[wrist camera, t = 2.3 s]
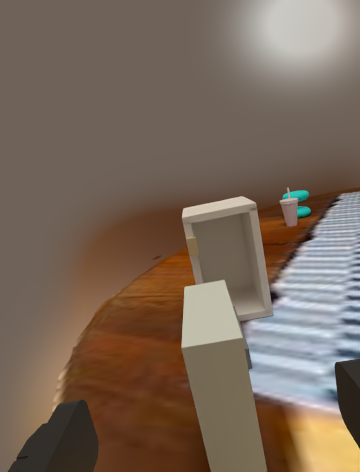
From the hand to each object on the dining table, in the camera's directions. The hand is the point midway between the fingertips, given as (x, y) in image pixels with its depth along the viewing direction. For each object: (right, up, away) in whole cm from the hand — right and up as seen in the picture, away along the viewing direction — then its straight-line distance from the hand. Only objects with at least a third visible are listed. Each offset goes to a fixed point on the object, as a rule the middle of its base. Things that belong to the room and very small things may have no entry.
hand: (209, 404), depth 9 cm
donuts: (+48, +13, +109) cm, 120 cm away
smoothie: (+41, +9, +97) cm, 105 cm away
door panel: (+5, -16, +18) cm, 24 cm away
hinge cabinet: (+9, -10, +41) cm, 43 cm away
